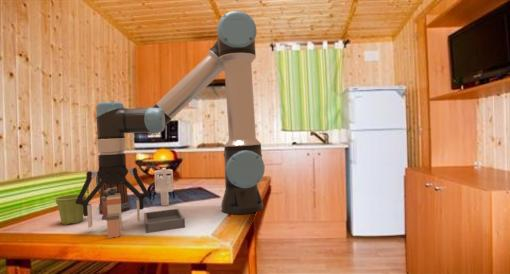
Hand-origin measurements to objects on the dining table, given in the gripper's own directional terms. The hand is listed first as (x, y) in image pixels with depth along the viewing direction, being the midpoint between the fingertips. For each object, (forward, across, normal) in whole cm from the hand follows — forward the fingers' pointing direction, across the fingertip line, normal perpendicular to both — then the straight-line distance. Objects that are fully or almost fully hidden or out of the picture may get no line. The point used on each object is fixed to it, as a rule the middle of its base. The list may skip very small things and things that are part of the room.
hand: (115, 223), depth 94 cm
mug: (+2, +3, -28) cm, 28 cm away
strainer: (+2, -17, -26) cm, 31 cm away
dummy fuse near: (+2, 0, +8) cm, 8 cm away
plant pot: (+2, +14, -16) cm, 21 cm away
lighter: (+2, +2, -17) cm, 17 cm away
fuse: (+2, 0, 0) cm, 2 cm away
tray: (+2, -14, +2) cm, 14 cm away
